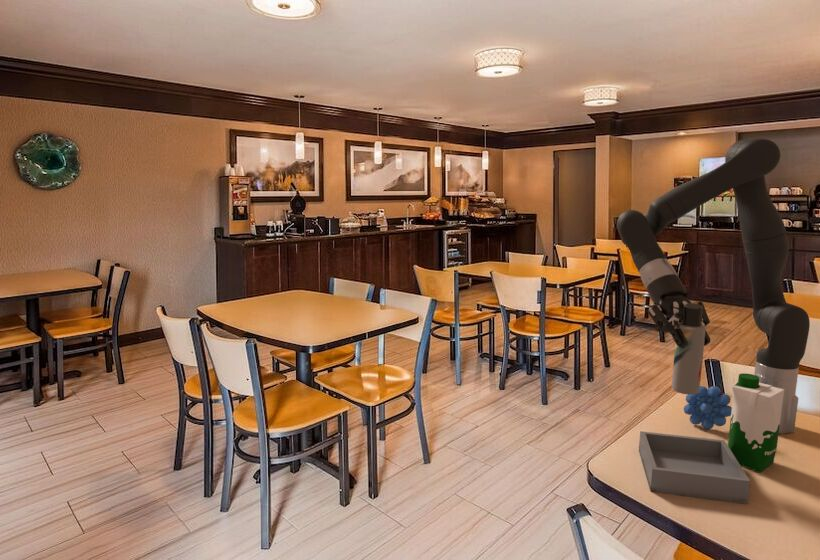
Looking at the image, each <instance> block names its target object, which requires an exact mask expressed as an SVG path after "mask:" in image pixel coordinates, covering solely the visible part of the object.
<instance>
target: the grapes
mask: <svg viewBox="0 0 820 560" xmlns="http://www.w3.org/2000/svg"><path fill="white" fill-rule="evenodd" d="M731 399H732V398H731V396H730V395H729V394H727V393H721V388H720V387H718V386H715V385H712V386H710V387H709V388H708V389H707V387H706V386H704V385H700V390H699V393H698V394H694V395H688V394H686V396H685V401H686V403H687V404H685V405H684V407H683V411H684V413H685V415H689V421H690V424H692V425H696V426H697V425H701V427H702V428H703V429H704V430H711V429H713V427H714V426H717V427H722V426H725V425H726V424H727V423H726V422H727V418H729V417H731V412H732V405H729V404H730V403H731Z"/></svg>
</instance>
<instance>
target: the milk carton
mask: <svg viewBox="0 0 820 560" xmlns="http://www.w3.org/2000/svg"><path fill="white" fill-rule="evenodd" d="M731 392H732V393H731V395H732V403H731V407H732V412H731V416H730V420H729V421H730V423H729V424H730V425H729V432H728V440H727V445H728V447H729V448H730V450H731V452H732V453H733V455H734V456H735V458H736V459H737V461H738V463H739V464H740V466H741V467H745V468H747V469H750V470H752V471H755V472H758V473H761V472H763V471H764V470H766V469H767V468H768V467H770V466H771V465H773V464H774V461H775V457H776V452H777V447H778V440H779V426H780V418H781V410H782V402H783V395H784V389H780V388H776V387H773V386H771V385H768V384H763V383H759V377H758V376H756V375H754V374H753V373H739V374H738V380H737V382H736V384H734V385H733V386H732V387H731Z"/></svg>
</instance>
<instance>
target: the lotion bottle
mask: <svg viewBox="0 0 820 560" xmlns="http://www.w3.org/2000/svg"><path fill="white" fill-rule="evenodd" d="M695 303H696V302H695ZM695 303H694V302H691V303H688V304H686V305H684V306H683V315H682V321H681V322H679V329H681V331H682V333H683V335H684V336H685V338H686V340H687V342H688V344H687V346H685V347H684V348H679V346H677V344H676V343H675V342H674V356H673V367H672V375H671V376H672V379H671V389H672V391H675V392H676V393H679V394H682V395H694V394H698V393H699V390H700V386H701V379H702V369H703V359H704V351H705V349H704V347H705V346H704V341H705V330H706V326H705V327H704V326H702V325H701V324H702V320H703V318H702V312H703V306H700V305H698V304H695Z"/></svg>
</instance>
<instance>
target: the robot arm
mask: <svg viewBox="0 0 820 560" xmlns="http://www.w3.org/2000/svg"><path fill="white" fill-rule="evenodd" d="M780 159H781V151H780V148H779V146H778V145H777V144H776V142H774V141H772V140H770V139H766V138H759V137H758V138H745V139H741V140H738V141H736V142H734V143H733V144H731V145H730V147H729V148H728V149H727V151H726V153H725V159H724V163H723V164H722V163H721V165H719V166H718V167H716V168H715V169H714V168H713V169H712V170H710V171H709V172H707V173H704V174H702V175H699V176H697V177H695V178H693V179H690V180H688V181H685V182H684V183H682V184H679V185H677V186H675V187H674V188H672V189H670V190H669V191H667V192H666V193H664V194H662V195H661V196H659V197H657V198H655V199H654V200H652V202H651V203H650V205H649V207H648V210H647V211H646V213H644V214H643V213H642V212H640V211H639V210H634V209H629V210H626V211H625V210H624V212H622V213H621V214H620V215H619V217H618V218H617V221H616V228H617V231H618V234H619V238H620V241H621V242H622V243H623V245H624V246H627V249H628V250H629V253H630V256H631V259H632V261H633V263H634V266H635V267H636V269H637V271H638V273H639V276H640V279H641V281H642V283H643V286H644V287H645V290H646V292H647V294H648V296H649V298H650V299H651V301H652V303H653V305H652V306H651V307H650V308H649V309H648V310H647V315H649V317H650V318H651V320H652V321H653V323H654V324H655V325H656V326H657V328H658V329H659V331H660V332H661V333H665V332H667V333H668V334H670V336H671V337H672V339H673V341H674V344H675V343H676V344H677V346H679V348H684V347H685V346H687V344H688V342H687V340H686V338H685V336H684V335H683V333H682V331H681V329H679V324H680V322H679V321H681V322H682V315H683V306H684V305H686V304H688V303H692V301H691V300H690V299H688V297H687V289H686V287H685V285H684V284H683V282H682V281H681V279H680V277H679V275H678V274H677V272H676V270H675V268H674V267H673V265H672V264H671V262H670V261H669V260H668V258H667V256H666V255H665V252H664V251H663V250H662V248H661V246H660V244H659V243H658V241H657V239H656V236H657V235H659V234H660V233H661V232H662V231H663V230H664V229H665V228H666V227H668V225H669V224H671V223H673V222H675V221H677V220H678V219H681V218H682V217H684V216H686V215H687V214H689V213H690V212H692V211H693V210H696V209H697V208H699V207H701V206H703V205H704V204H706V203H708V202H709V201H711V200H714V199H715V198H717V197H718V196H721V195H723V194H724V193H726V192H728V191H731V190H733V194H734V197H735V202H736V209H737V214H738V221H739V224H740V231H741V238H742V244H743V249H744V254H745V257H746V262H747V268H748V273H749V278H750V279H749V280H750V283H751V285H750V286H751V291H752V292H751V293H752V308H753V310H752V311H753V319H754V323H755V325H756V327H757V329H758V330H760V331H761V332H762V333H764V334H765V335H768V336H769V340H768V345H767V347H765V348H761V349H759V350H757V352H756V355H755V356H756V359H755V365H754V374H753V375H756V376H758V377H759V383H763V384H768V385H771V386H773V387H776V388H780V389H784V395H783V402H782V410H781V418H780V426H779V434H782V435H783V434H789V433H791V434H794V433H795V427H796V421H797V412H798V405H799V397H798V396H797V394H796V393H797V386H798V384H797V383H798V378H799V377H798V376H799V369H800V368H799V367H800V363H801V361H802V359H803V358H804V355H805V353H806V349H807V345H808V344H807V343H808V339H809V333H810V327H811V326H810V317H809V314H808V312H807V311H806V310H805V309H804V308H802V307H800V306H798V305H795V304H792V303H789V302H787V301H786V298H785V295H784V289H783V286H782V285H783V284H782V276H783V273H784V270H785V266H786V264H787V261H788V257H789V249H790V248H789V247H790V246H789V241H788V235H787V230H786V226H785V222H784V221H783V219H782V216H781V215H780V213H779V211H778V209H777V208H776V206H775V204H774V203H773V200H772V199H771V196H770V195H769V191H768V190H767V184H766V177H765V176H767V175H768V174H770V173H771V172H773V170H775V169H776V167H777V166H778V164H779V162H780ZM695 304H698V305H700V306H703V312H702V324H701V325H702V326H704V327H705V328H706V327H707V326H708V325H710V323H711V321H710V319H709V316H708V314H707V311H706V310H707V309H706V308H705V305H704V303H703V302H702V301H697V302H695ZM710 343H711V337H710V335H709V334H708V332H707V329H705V341H704V347H705V346H708V345H709V344H710ZM779 434H778V435H779Z"/></svg>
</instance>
